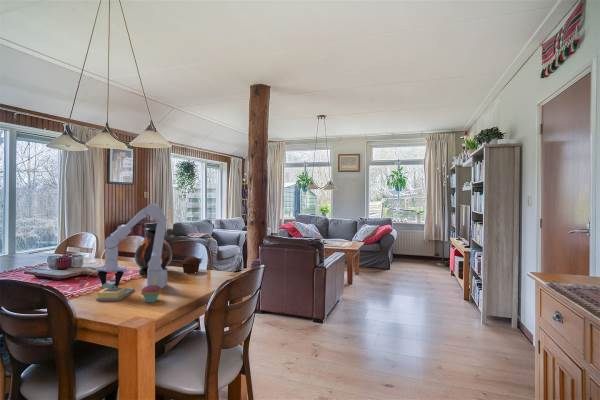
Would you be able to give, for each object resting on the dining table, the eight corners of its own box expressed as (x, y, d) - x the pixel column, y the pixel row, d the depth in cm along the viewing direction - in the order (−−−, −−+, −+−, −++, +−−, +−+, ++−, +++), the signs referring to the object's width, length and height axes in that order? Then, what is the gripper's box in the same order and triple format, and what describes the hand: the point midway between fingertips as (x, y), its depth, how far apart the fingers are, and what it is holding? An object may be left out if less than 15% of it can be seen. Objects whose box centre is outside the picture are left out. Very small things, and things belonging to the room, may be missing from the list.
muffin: (180, 271, 205) (181, 255, 205) (198, 269, 211) (198, 254, 210) (183, 275, 195) (183, 259, 195) (201, 273, 200) (202, 257, 200)
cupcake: (155, 296, 152) (156, 271, 152) (164, 300, 146) (165, 274, 146) (137, 300, 145) (138, 274, 145) (146, 305, 140) (146, 278, 140)
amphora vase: (137, 269, 207) (139, 226, 207) (173, 268, 213) (174, 226, 213) (130, 277, 186) (132, 229, 186) (170, 275, 192) (171, 229, 192)
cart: (108, 287, 165) (109, 279, 165) (117, 287, 165) (118, 279, 165) (102, 290, 159) (103, 282, 159) (112, 290, 159) (112, 282, 159)
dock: (134, 290, 160) (134, 283, 160) (119, 300, 144) (119, 292, 144) (113, 290, 159) (114, 283, 159) (96, 300, 143) (96, 292, 143)
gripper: (129, 258, 167) (128, 283, 167) (100, 257, 165) (99, 283, 165) (123, 260, 160) (122, 287, 160) (93, 260, 158) (92, 287, 158)
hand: (110, 285), depth 162 cm, fingers open, 6 cm apart
